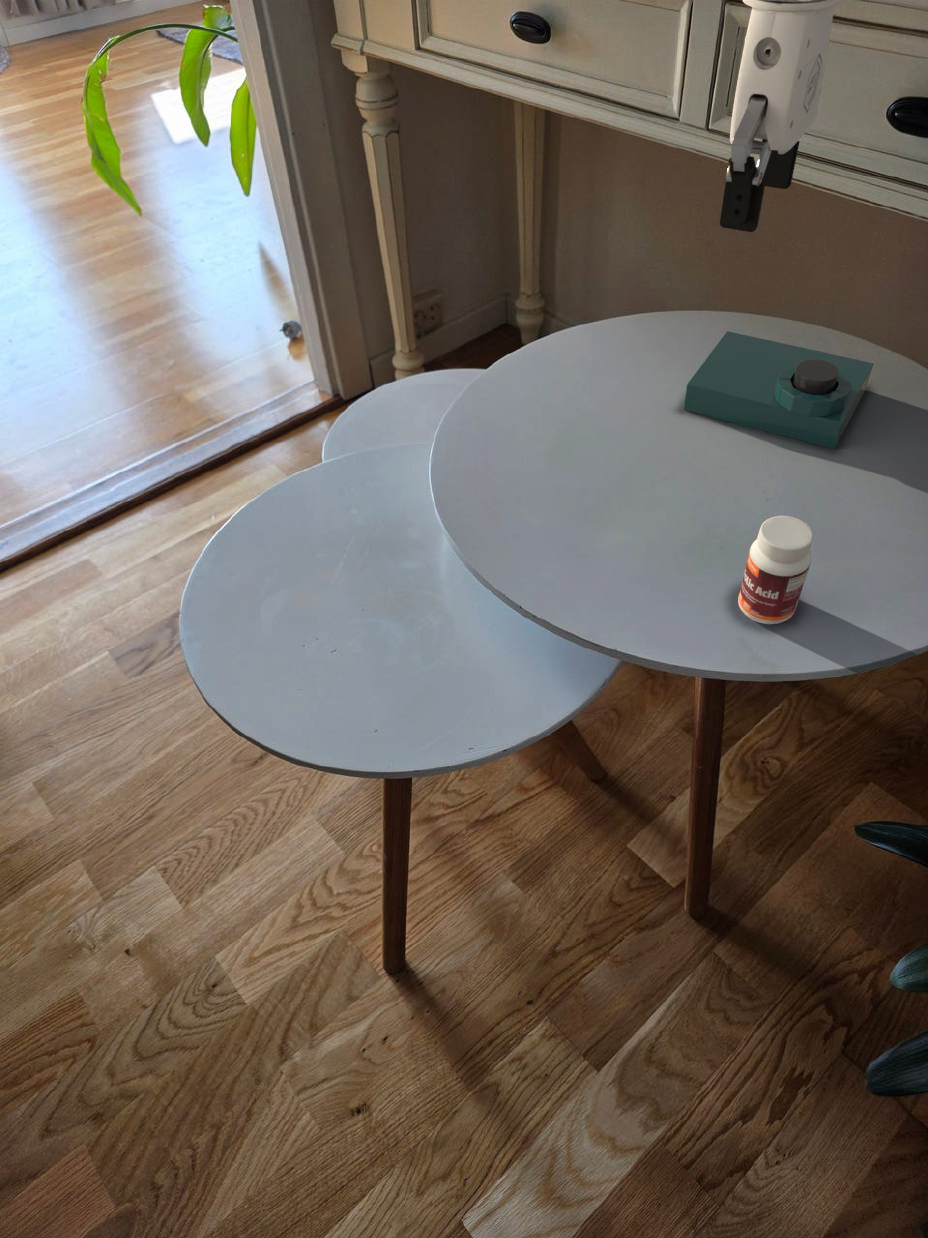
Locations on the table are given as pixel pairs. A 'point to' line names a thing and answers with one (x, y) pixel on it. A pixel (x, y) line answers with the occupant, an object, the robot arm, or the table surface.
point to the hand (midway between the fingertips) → (755, 206)
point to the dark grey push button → (815, 377)
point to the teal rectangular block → (775, 389)
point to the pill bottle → (776, 570)
